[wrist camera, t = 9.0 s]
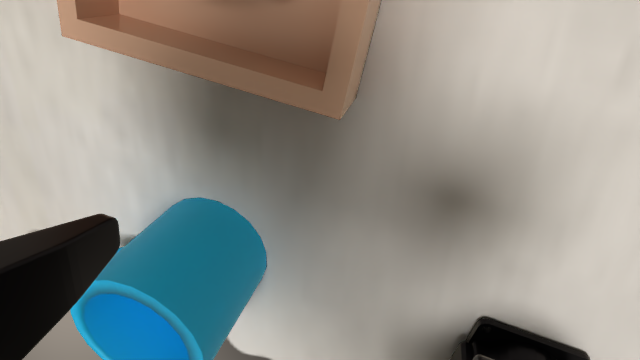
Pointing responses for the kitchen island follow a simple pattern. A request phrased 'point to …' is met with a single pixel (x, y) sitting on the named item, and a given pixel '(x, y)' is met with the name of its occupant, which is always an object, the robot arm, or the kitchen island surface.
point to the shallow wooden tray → (240, 42)
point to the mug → (174, 286)
